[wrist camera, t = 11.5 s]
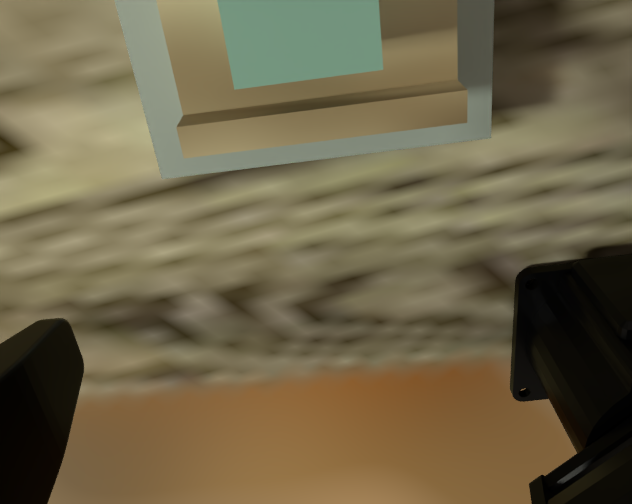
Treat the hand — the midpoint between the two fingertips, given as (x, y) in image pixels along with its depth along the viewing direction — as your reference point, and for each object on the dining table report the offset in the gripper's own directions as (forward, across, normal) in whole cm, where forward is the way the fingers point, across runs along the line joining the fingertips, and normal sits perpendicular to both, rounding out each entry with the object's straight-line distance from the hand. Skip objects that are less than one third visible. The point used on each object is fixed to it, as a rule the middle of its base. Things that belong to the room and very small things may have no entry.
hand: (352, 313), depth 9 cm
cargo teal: (+7, 0, -4) cm, 8 cm away
